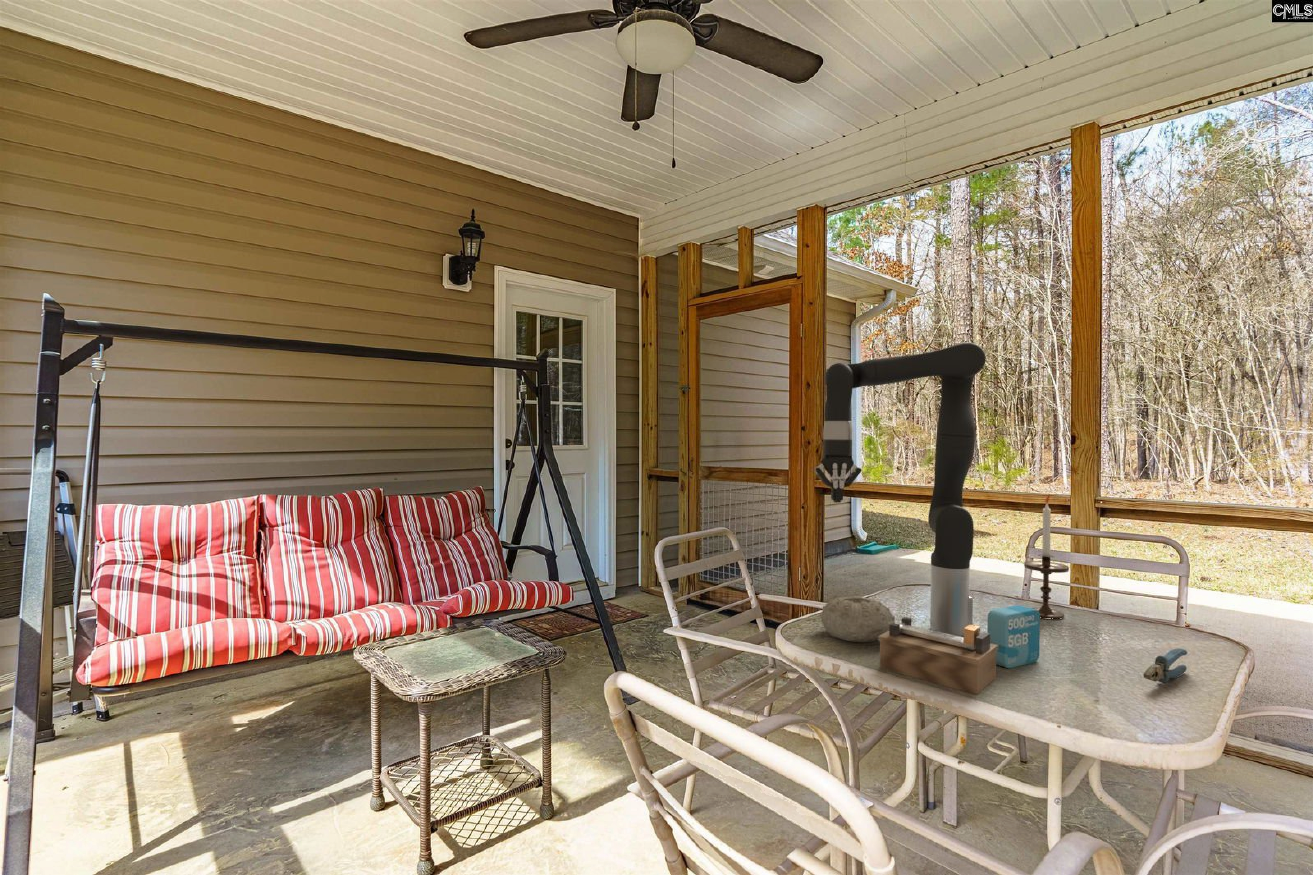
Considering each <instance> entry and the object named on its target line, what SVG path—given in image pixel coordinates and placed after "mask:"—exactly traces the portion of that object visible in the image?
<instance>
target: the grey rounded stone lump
mask: <svg viewBox="0 0 1313 875" xmlns="http://www.w3.org/2000/svg"><path fill="white" fill-rule="evenodd" d="M820 620H821V623H822V625H823V628H824V629H825V631H826V632H828V634H829V635H831V637H833V638H836V639H839V640H844V641H848V642H851V643H871V642H872V643H873V641H878V636H879V635H881V634H883V633H885V632H887V631H889V625H890V624H891V623H895V624H896V616H894V615H893V613H892V612H891V610H890V608H889V607H887V606H886V605H885V604H883V603H882V602H880V601H879V600H876V599H874V598H873V599H870V598H868V597H864V596H857V595H856V596H849V597H845V596H844V597H839V596H838V597H835V598H832V599H831V600H829V601H828V602H827V603H826V604H825V605H823V606H822V611H821V614H820Z"/></svg>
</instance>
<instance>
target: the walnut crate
mask: <svg viewBox="0 0 1313 875" xmlns="http://www.w3.org/2000/svg"><path fill="white" fill-rule="evenodd" d="M901 623H906V624H907V625H912V618H911V617H910V618H909V617H906V616H903V617H902V618H901ZM901 623H900V624H901ZM900 624H899V623H896V622H895V623H891V624H890V625H889V631H887V632H885V633H883V634H881V635H879V636H878V640H877V641H878V642H879V668H880V669H882V670H887V671H890V672H894V673H897V674H902V675H904V676H909V677H912V678H917V679H920V680H923V681H926V682H931V683H933V684H937V685H940V686H945V687H949V688H952V689H955V690H960V691H962V692H963V691H964V692H967V693H971V694H973V695H974V694H975V695H979V693H981V692H982V691H983V690H984V689H985V688H987V686H988V685H990V684H991V683H992V682H993V681H994V680H995V679H996V678H997V664H996V651H997V650H998V645H996V644H991V643H990V633H987V632H985V631H983V632H982V633H980V635H979V636H978V637H976V649H975V650H972V649H967V648H963V647H959V646H955V645H951V644H947V643H942V642H938V641H934V640H930V639H926V638H922V637H917V636H913V635H909V634H905V633H901V632H900Z"/></svg>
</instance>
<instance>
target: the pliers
mask: <svg viewBox="0 0 1313 875" xmlns="http://www.w3.org/2000/svg"><path fill="white" fill-rule="evenodd" d="M1186 655H1188V651H1187V649H1184V648H1173V649H1171V650H1168V652H1166V653H1165V654H1164V655H1157V656H1156V657H1155V661H1154V663H1153V664H1151V665H1150V666H1149V667H1147V669H1146V670H1145V671H1144V673H1143V678H1144V679H1146V680H1149V681H1152V682H1159V683H1161V682H1162V683H1161V684H1166V683H1168V681H1169V679H1176V678H1175V677H1177V678H1179V677H1178V676H1180V675H1181V674H1183V673H1184V672H1187V668H1188V667H1187V666H1186V665H1185V664H1180V665H1176V667H1174V668H1172V669H1170V667H1171V666H1172V665H1173V664H1174V663H1175V662H1177V660H1178V659H1179V658H1181V657H1182V656H1186ZM1184 674H1185V673H1184ZM1184 674H1183V675H1184ZM1181 676H1182V675H1181ZM1181 676H1180V677H1181Z"/></svg>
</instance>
